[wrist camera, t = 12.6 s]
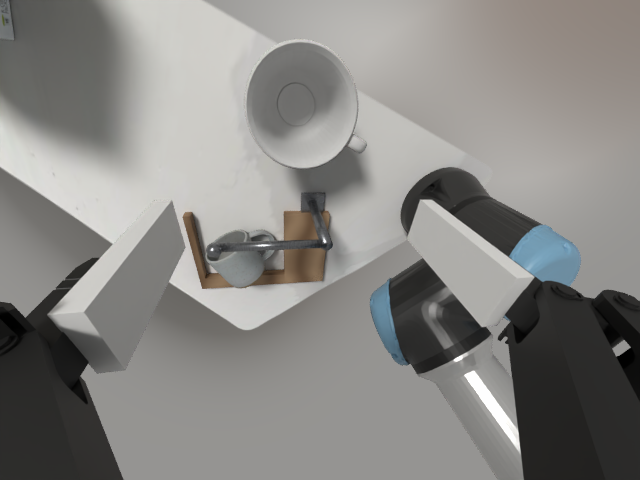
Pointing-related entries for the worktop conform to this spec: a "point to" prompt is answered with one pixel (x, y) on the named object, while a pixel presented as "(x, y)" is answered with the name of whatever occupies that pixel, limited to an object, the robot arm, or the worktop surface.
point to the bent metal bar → (308, 205)
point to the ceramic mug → (240, 260)
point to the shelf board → (296, 261)
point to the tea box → (5, 21)
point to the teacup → (302, 105)
